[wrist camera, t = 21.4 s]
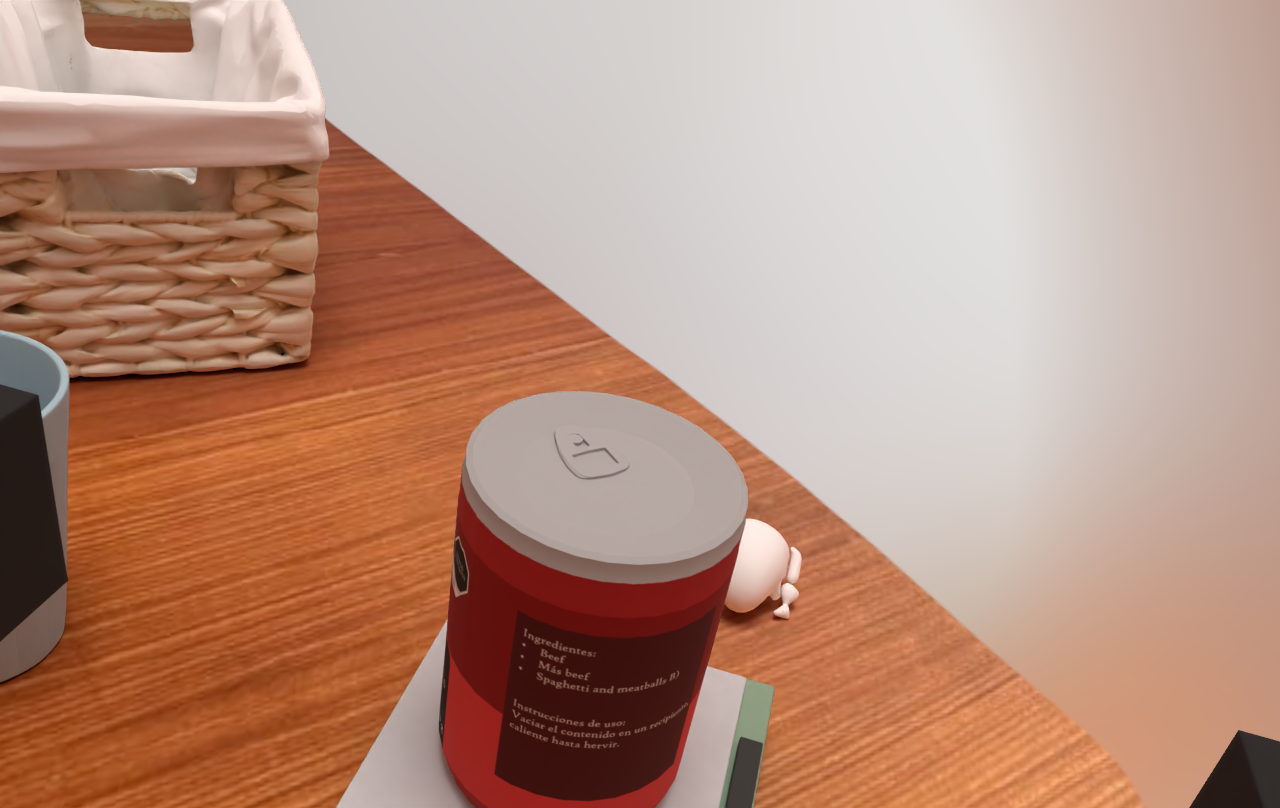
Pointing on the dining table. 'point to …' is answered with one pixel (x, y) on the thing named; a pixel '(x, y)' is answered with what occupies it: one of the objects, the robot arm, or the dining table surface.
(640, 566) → the canned food
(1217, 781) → the robot arm
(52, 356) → the cup
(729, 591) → the rabbit figurine
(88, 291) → the basket
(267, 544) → the dining table surface
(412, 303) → the dining table surface
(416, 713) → the scale
